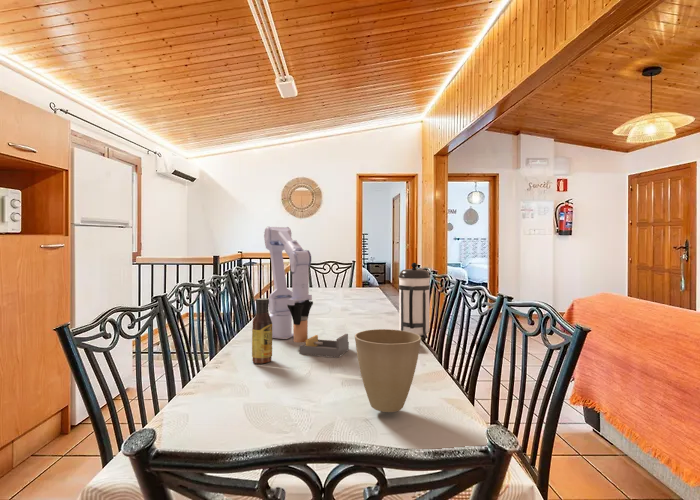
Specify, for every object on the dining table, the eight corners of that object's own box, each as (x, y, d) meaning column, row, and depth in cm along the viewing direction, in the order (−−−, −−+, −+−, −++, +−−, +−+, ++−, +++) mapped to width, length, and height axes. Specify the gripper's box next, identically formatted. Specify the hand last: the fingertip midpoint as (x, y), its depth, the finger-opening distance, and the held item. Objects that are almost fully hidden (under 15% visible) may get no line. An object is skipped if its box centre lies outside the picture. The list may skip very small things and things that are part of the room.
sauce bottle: (267, 365, 119) (267, 300, 119) (248, 364, 121) (248, 300, 121) (275, 359, 126) (275, 297, 126) (257, 358, 127) (257, 297, 127)
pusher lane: (299, 354, 132) (299, 336, 132) (312, 346, 142) (312, 330, 142) (337, 357, 127) (337, 340, 127) (348, 349, 137) (348, 333, 137)
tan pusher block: (305, 350, 132) (305, 340, 132) (315, 344, 140) (315, 334, 140) (317, 351, 131) (317, 341, 131) (326, 345, 139) (326, 335, 139)
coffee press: (386, 334, 161) (386, 262, 161) (418, 331, 167) (418, 261, 167) (410, 344, 145) (410, 263, 145) (444, 339, 152) (444, 263, 152)
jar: (290, 341, 136) (290, 317, 136) (297, 338, 141) (297, 315, 141) (303, 343, 134) (303, 318, 134) (309, 339, 139) (309, 316, 139)
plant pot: (382, 426, 78) (381, 347, 78) (342, 402, 90) (342, 333, 90) (435, 409, 86) (435, 337, 86) (392, 389, 98) (392, 326, 98)
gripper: (301, 286, 129) (301, 327, 129) (319, 283, 143) (319, 320, 143) (282, 286, 132) (282, 326, 132) (301, 282, 145) (302, 319, 145)
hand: (300, 323), depth 137 cm, fingers closed on jar, 5 cm apart
